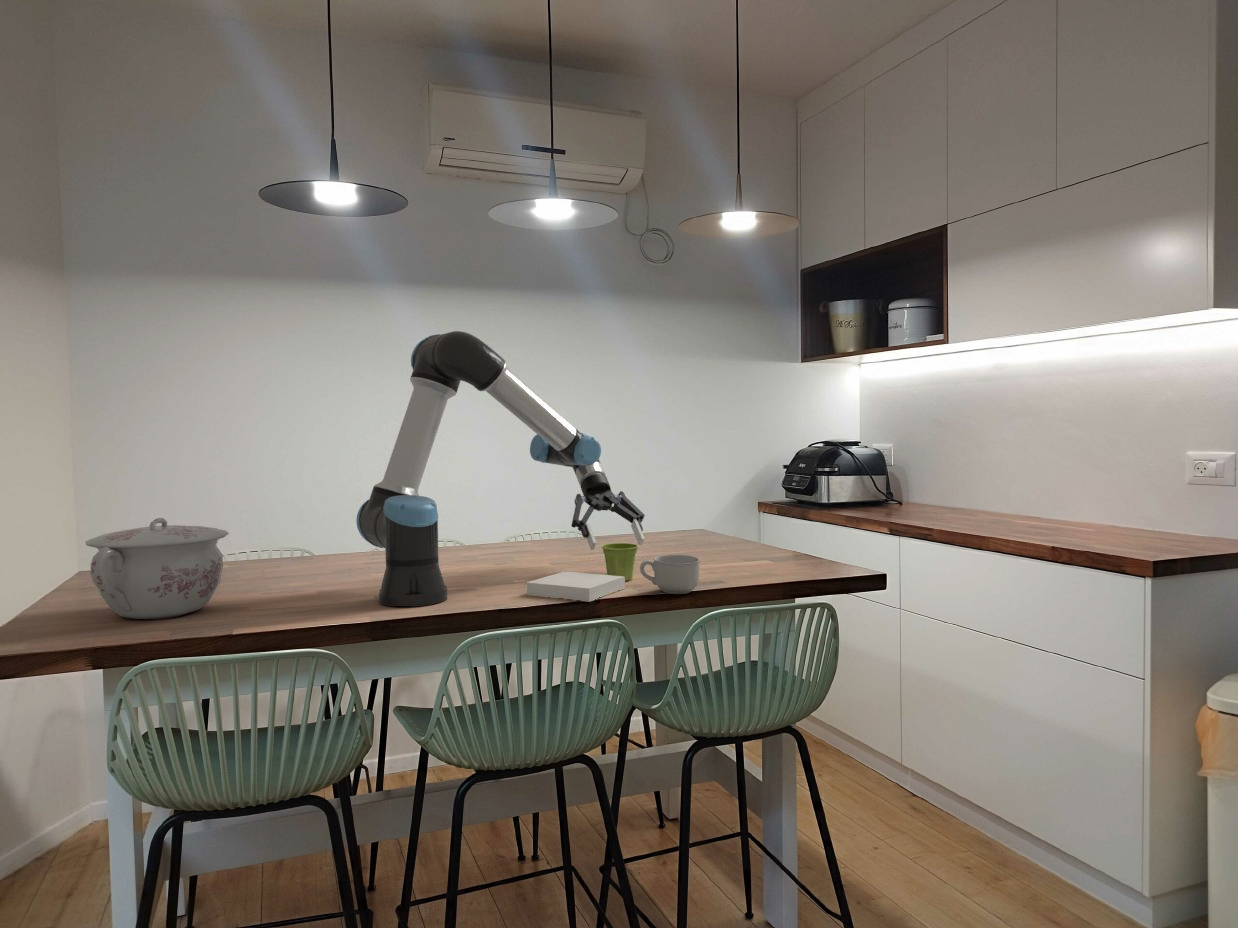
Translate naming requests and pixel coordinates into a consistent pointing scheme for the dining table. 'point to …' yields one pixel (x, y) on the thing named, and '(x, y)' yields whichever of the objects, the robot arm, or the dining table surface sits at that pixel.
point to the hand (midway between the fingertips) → (618, 544)
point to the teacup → (674, 573)
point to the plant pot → (620, 559)
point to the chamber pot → (157, 569)
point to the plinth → (575, 586)
